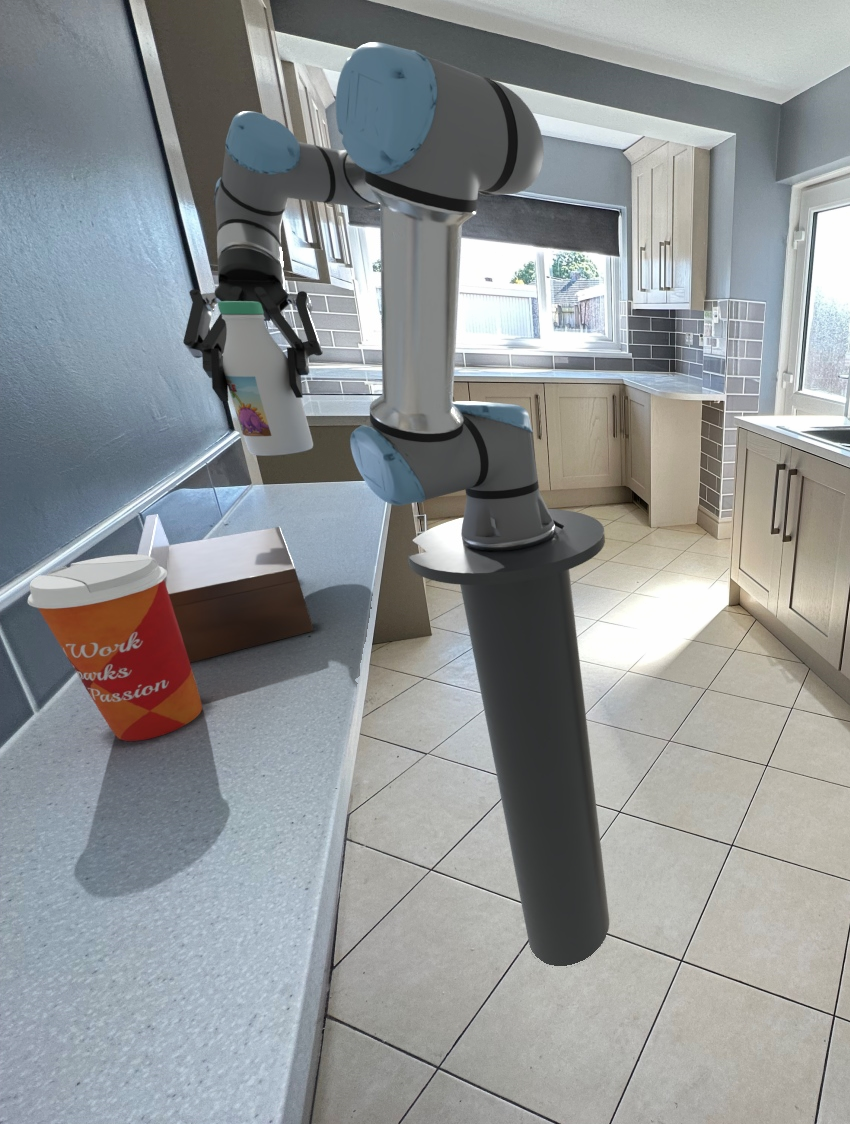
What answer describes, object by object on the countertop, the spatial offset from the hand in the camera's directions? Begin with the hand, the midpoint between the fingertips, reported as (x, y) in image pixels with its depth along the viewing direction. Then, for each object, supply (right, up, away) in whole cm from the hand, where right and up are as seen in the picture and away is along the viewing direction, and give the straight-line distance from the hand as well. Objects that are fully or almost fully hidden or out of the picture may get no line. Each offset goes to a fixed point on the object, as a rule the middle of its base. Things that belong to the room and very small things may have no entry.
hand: (259, 392), depth 82 cm
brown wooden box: (+5, -30, -8) cm, 31 cm away
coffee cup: (+12, -38, -26) cm, 47 cm away
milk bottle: (-2, -7, +6) cm, 9 cm away
